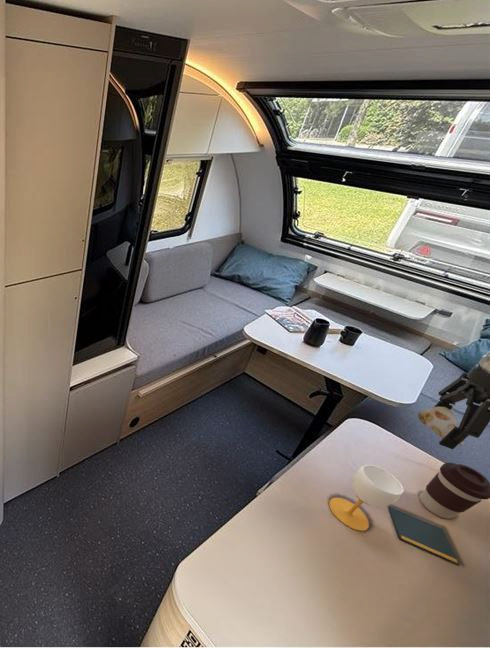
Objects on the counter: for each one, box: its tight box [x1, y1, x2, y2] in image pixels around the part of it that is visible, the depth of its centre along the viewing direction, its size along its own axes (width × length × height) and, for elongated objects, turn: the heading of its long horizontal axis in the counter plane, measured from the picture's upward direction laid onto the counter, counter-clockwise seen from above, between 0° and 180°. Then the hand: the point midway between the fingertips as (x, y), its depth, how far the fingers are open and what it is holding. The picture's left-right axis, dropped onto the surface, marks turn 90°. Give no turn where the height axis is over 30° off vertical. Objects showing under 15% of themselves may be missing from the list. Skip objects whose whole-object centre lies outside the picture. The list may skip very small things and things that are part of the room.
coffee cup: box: [419, 462, 490, 520], centre depth 99 cm, size 10×10×15 cm
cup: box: [328, 464, 405, 532], centre depth 94 cm, size 9×9×16 cm
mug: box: [417, 406, 465, 447], centre depth 98 cm, size 8×10×10 cm
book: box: [387, 505, 461, 566], centre depth 95 cm, size 12×10×1 cm
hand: (437, 432), depth 99 cm, fingers closed on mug, 10 cm apart
